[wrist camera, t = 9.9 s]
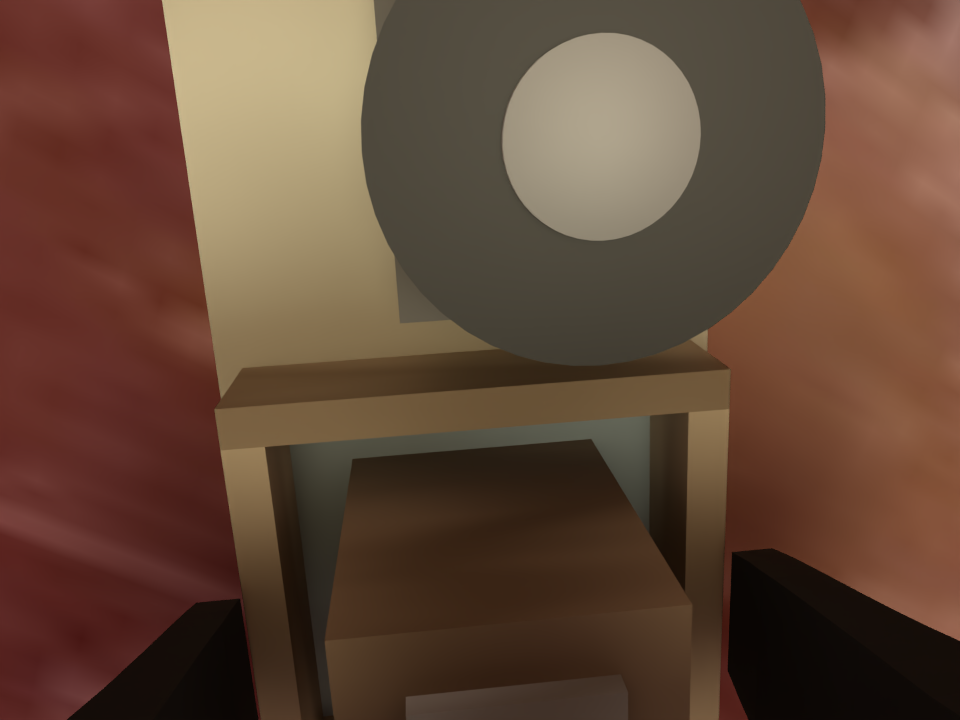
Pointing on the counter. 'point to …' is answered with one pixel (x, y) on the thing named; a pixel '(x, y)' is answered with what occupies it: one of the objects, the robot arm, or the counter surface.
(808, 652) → the robot arm
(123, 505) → the counter surface
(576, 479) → the wooden block
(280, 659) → the chassis board
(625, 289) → the wheel
